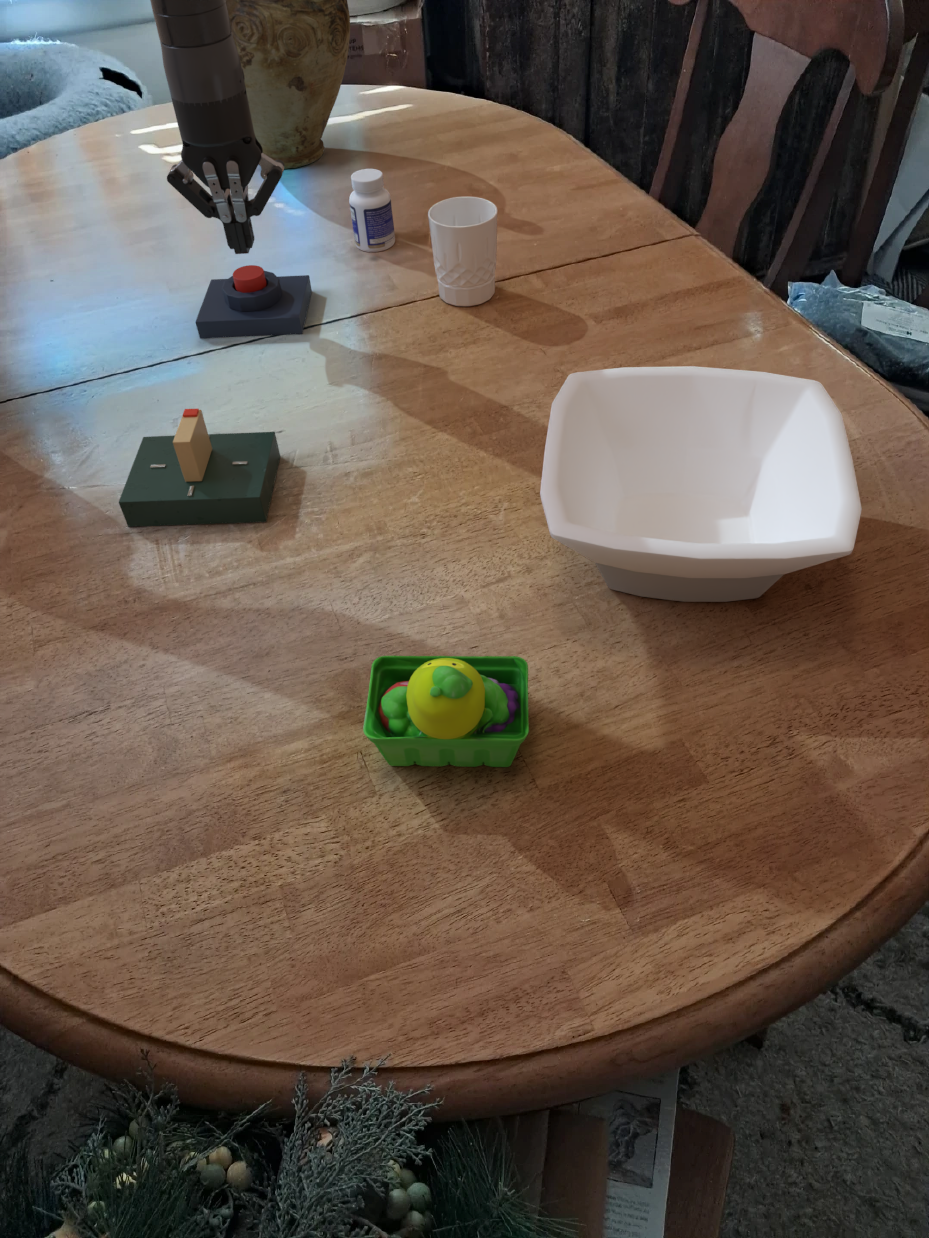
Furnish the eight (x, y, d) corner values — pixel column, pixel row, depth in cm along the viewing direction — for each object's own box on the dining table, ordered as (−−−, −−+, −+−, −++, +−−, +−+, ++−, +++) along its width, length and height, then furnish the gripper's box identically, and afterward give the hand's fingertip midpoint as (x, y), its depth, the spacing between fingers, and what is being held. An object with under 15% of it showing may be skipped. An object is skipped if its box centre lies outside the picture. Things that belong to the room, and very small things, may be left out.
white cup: (511, 286, 120) (510, 205, 112) (475, 316, 115) (472, 232, 108) (458, 271, 123) (453, 191, 116) (421, 299, 119) (413, 217, 111)
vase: (273, 200, 137) (217, -59, 118) (190, 172, 151) (126, -64, 132) (402, 153, 148) (369, -92, 128) (312, 131, 162) (271, -93, 142)
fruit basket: (528, 698, 76) (528, 594, 68) (528, 796, 70) (528, 695, 61) (380, 698, 76) (362, 595, 68) (368, 795, 70) (347, 695, 62)
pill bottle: (402, 238, 130) (395, 169, 124) (383, 256, 127) (375, 186, 120) (367, 232, 132) (358, 164, 125) (347, 249, 129) (338, 180, 122)
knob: (202, 481, 91) (189, 439, 88) (185, 482, 91) (171, 440, 88) (212, 448, 95) (200, 407, 91) (196, 449, 95) (183, 407, 91)
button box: (199, 339, 115) (191, 307, 112) (215, 296, 122) (207, 265, 119) (302, 334, 114) (296, 303, 111) (311, 291, 121) (306, 261, 118)
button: (233, 295, 114) (230, 280, 113) (238, 279, 117) (235, 265, 115) (264, 293, 114) (261, 279, 113) (268, 278, 117) (265, 264, 115)
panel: (127, 527, 92) (117, 500, 90) (151, 461, 99) (142, 435, 97) (266, 522, 92) (259, 495, 89) (280, 456, 99) (274, 430, 96)
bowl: (531, 640, 80) (531, 546, 72) (554, 451, 97) (556, 360, 89) (843, 662, 77) (876, 566, 69) (810, 463, 94) (834, 368, 86)
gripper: (133, 103, 97) (179, 269, 110) (266, 96, 97) (297, 264, 109) (150, 76, 103) (192, 238, 115) (277, 70, 102) (305, 233, 115)
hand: (243, 250), depth 112 cm, fingers closed
